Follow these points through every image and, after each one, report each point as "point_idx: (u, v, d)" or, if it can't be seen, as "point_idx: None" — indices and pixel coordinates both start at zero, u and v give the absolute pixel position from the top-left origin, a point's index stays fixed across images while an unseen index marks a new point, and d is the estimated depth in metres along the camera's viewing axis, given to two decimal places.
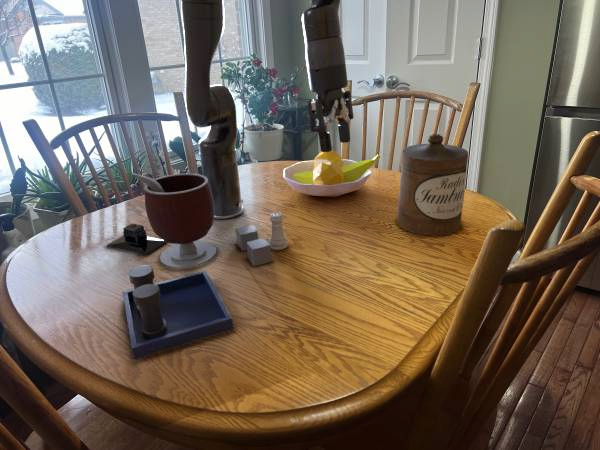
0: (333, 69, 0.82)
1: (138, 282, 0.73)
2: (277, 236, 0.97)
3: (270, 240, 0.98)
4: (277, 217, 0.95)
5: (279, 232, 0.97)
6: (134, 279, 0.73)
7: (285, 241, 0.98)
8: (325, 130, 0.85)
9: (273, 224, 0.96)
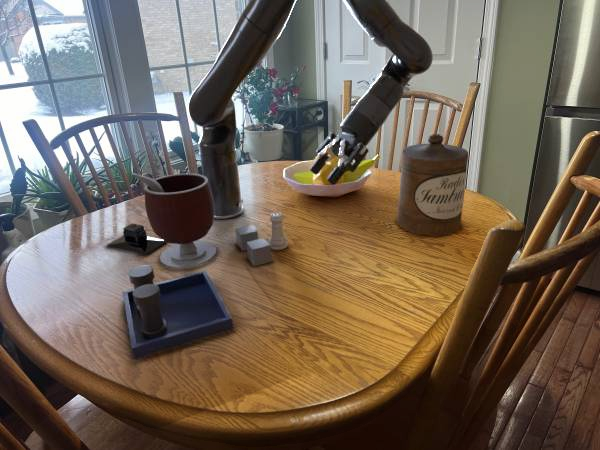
0: (376, 132, 0.97)
1: (138, 282, 0.73)
2: (277, 236, 0.97)
3: (270, 240, 0.98)
4: (277, 217, 0.95)
5: (279, 232, 0.97)
6: (134, 279, 0.73)
7: (285, 241, 0.98)
8: None
9: (273, 224, 0.96)
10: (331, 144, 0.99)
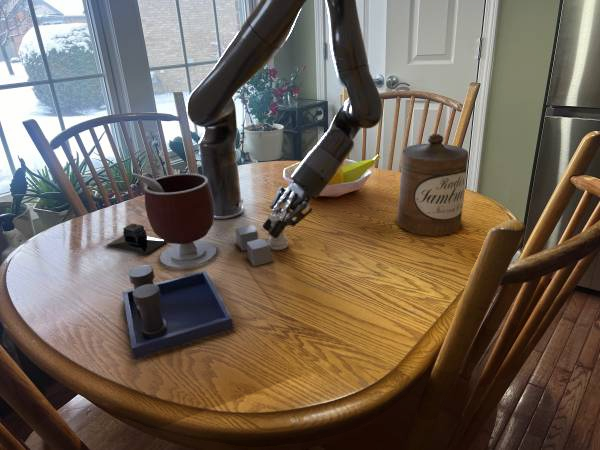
0: (326, 184, 0.96)
1: (138, 282, 0.73)
2: None
3: (270, 240, 0.98)
4: (277, 217, 0.95)
5: None
6: (134, 279, 0.73)
7: (285, 241, 0.98)
8: (288, 225, 0.95)
9: (273, 224, 0.96)
10: (283, 197, 0.97)
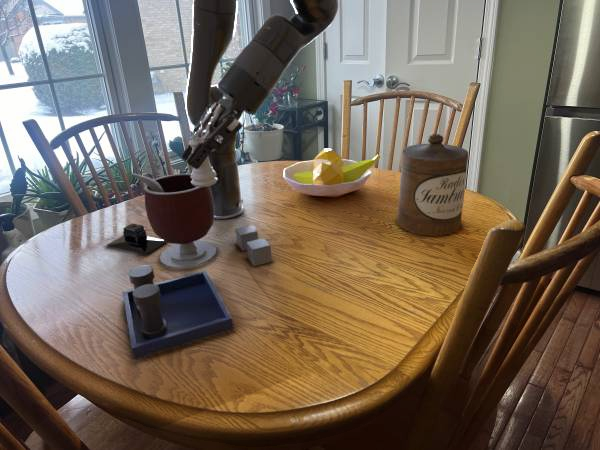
0: (265, 96, 0.71)
1: (138, 282, 0.73)
2: (201, 167, 0.71)
3: (192, 174, 0.73)
4: (198, 139, 0.70)
5: (203, 162, 0.71)
6: (134, 279, 0.73)
7: (212, 175, 0.72)
8: (213, 150, 0.70)
9: None
10: (207, 115, 0.72)
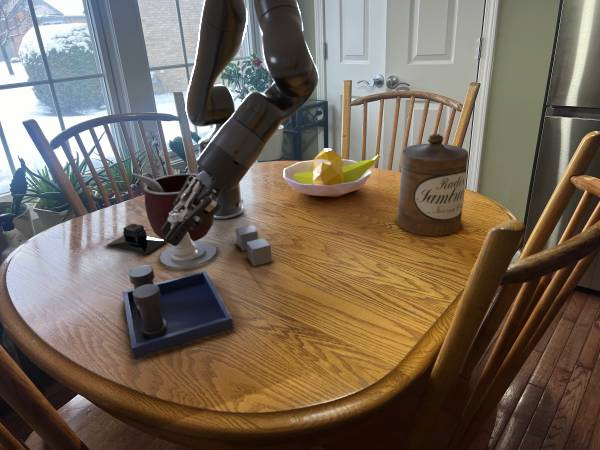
0: (245, 172, 0.70)
1: (138, 282, 0.73)
2: (180, 242, 0.71)
3: (171, 248, 0.72)
4: (177, 217, 0.69)
5: None
6: (134, 279, 0.73)
7: (192, 249, 0.72)
8: (191, 227, 0.69)
9: None
10: (187, 190, 0.71)
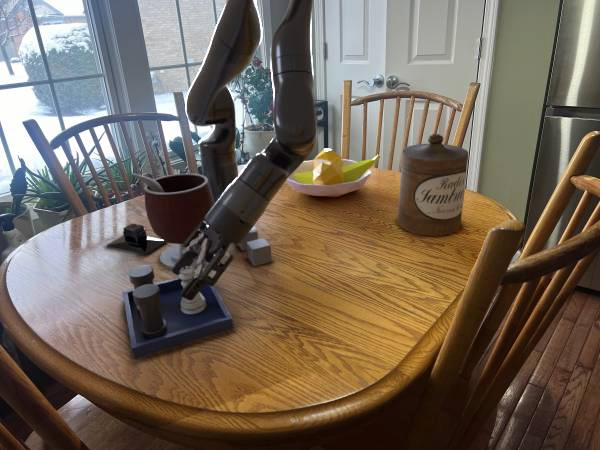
0: (250, 228, 0.74)
1: (138, 282, 0.73)
2: None
3: (182, 302, 0.76)
4: (187, 274, 0.73)
5: None
6: (134, 279, 0.73)
7: (201, 303, 0.76)
8: None
9: (183, 283, 0.74)
10: (195, 241, 0.76)
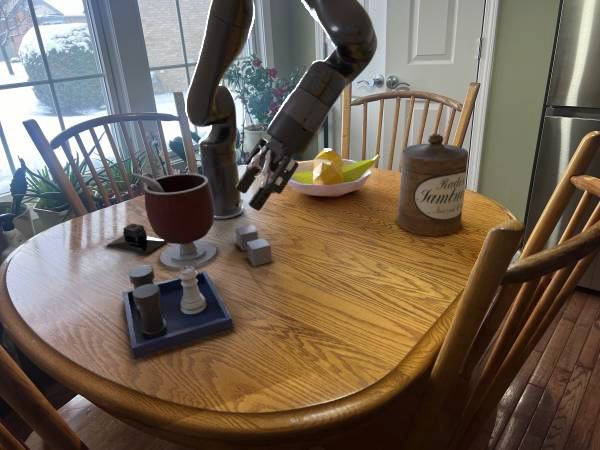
0: (312, 138, 0.74)
1: (138, 282, 0.73)
2: (190, 297, 0.75)
3: (182, 302, 0.76)
4: (187, 274, 0.73)
5: (192, 293, 0.75)
6: (134, 279, 0.73)
7: (201, 303, 0.76)
8: None
9: (183, 283, 0.74)
10: (258, 155, 0.77)
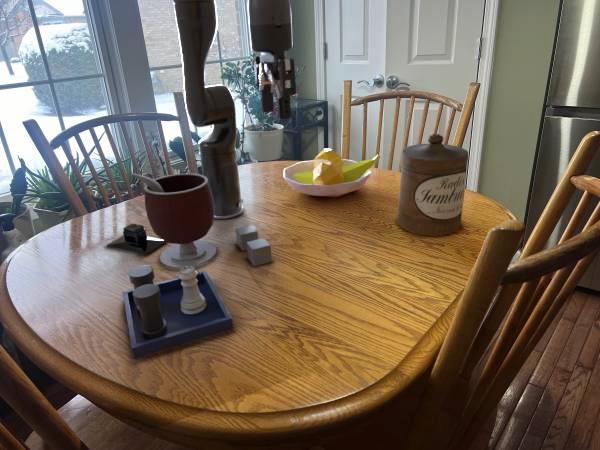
0: (290, 27, 0.76)
1: (138, 282, 0.73)
2: (190, 297, 0.75)
3: (182, 302, 0.76)
4: (187, 274, 0.73)
5: (192, 293, 0.75)
6: (134, 279, 0.73)
7: (201, 303, 0.76)
8: None
9: (183, 283, 0.74)
10: (260, 74, 0.82)
